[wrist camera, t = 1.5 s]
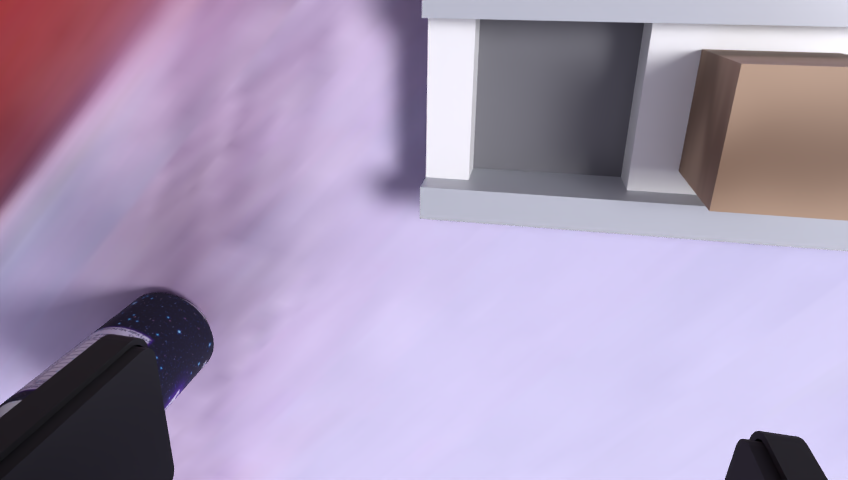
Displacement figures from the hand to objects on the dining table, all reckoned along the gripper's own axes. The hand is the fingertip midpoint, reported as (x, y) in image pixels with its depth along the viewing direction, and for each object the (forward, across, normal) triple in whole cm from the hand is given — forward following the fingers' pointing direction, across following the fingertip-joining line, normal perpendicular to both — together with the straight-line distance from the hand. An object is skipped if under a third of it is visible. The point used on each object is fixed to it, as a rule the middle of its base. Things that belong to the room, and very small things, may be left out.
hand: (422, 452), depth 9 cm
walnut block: (+19, -10, -3) cm, 21 cm away
